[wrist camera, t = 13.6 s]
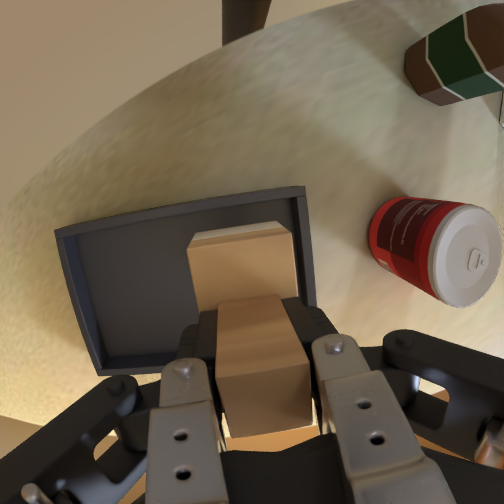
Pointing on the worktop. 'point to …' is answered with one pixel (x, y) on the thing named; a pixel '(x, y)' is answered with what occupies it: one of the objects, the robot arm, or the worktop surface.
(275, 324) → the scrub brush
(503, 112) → the small box
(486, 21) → the beer bottle
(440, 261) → the canned food
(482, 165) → the worktop surface
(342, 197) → the worktop surface
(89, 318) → the tray
